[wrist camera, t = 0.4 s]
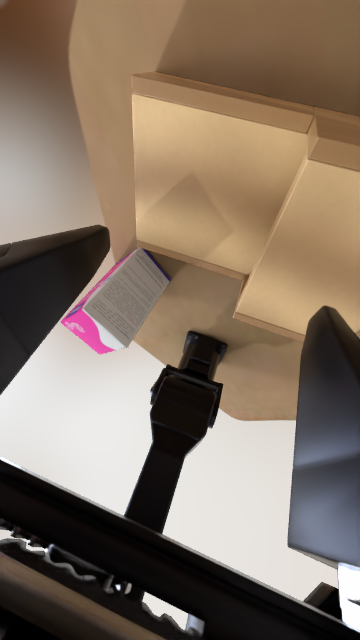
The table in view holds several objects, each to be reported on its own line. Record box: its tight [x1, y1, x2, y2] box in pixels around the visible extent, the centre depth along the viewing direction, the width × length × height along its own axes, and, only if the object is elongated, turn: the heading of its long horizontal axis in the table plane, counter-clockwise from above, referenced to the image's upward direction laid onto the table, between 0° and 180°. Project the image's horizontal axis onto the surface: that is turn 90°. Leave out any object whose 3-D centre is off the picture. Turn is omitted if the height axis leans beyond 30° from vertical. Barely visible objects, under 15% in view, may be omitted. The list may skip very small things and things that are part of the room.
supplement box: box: [61, 247, 171, 354], centre depth 27 cm, size 6×6×12 cm
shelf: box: [131, 72, 360, 342], centre depth 17 cm, size 12×19×8 cm, turn 84°
